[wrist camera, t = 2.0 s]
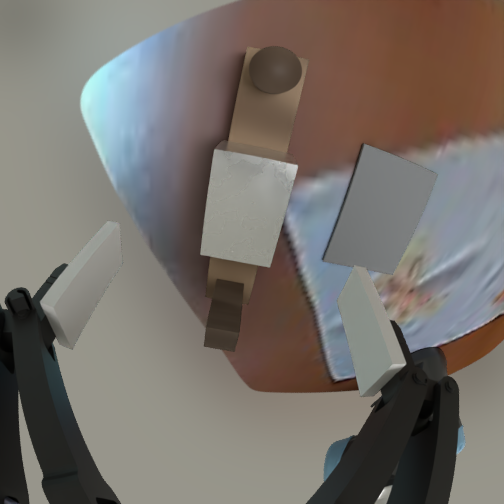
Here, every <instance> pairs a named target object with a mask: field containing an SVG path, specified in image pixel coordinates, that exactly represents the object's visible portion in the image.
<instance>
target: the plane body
mask: <svg viewBox="0 0 504 504" xmlns="http://www.w3.org/2000/svg"><path fill="white" fill-rule="evenodd" d="M308 62H309V60H308V59H304V58H300V57H297V56H296V55H295V54H294V53H293V52H291V51H290V50H288V49H286V48H283V47H278V46H271V47H266V48H263V49H258V48H252V47H247V52H246V56H245V60H244V65H243V69H242V74H241V79H240V84H239V88H238V93H237V98H236V103H235V108H234V113H233V118H232V124H231V129H230V134H229V140H228V141H230V142H236V143H242V144H247V145H252V146H257V147H262V148H267V149H272V150H277V151H281V152H285V153H287V150H288V146H289V142H290V138H291V133H292V129H293V125H294V121H295V117H296V113H297V109H298V105H299V100H300V96H301V92H302V88H303V84H304V79H305V75H306V71H307V67H308ZM257 269H258V265H253V264H248V263H243V262H237V261H232V260H226V259H221V258H216V257H210V263H209V271H208V279H207V287H206V296H205V297H208V298H212V302H211V307H210V311H209V316H208V321H207V325H206V333H205V342H204V346H205V347H210V348H215V349H221V350H227V351H233V352H235V348H236V344H237V340H238V336H239V332H240V322H241V311H242V304H247V305H248V303H249V299H250V296H251V292H252V288H253V284H254V280H255V276H256V273H257Z"/></svg>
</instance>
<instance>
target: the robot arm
mask: <svg viewBox="0 0 504 504" xmlns="http://www.w3.org/2000/svg"><path fill="white" fill-rule="evenodd" d="M120 236H121V235H120V223H119V222H113V221H107V222H106V223H105V224H104V225H103V227H102V228H101V229H100V230H99V231H98V232H97V233H96V234H95V235H94V236H93V237H92V238H91V239H90V241H89V242H88V243H87V244H86V245H85V246H84V248H83V249H82V250H81V251H80V252H79V253H78V254H77V255H76V257H75V258H74V259H73V260H72V261H71V263H70V264H69V265H68V264H62V265H61V266H59V267H58V268H56V269H55V270H54V271H53V273H52V274H51V275H50V277H48V279H47V280H46V282H45V283H44V284H43V285H42V286H41V288H40V289H39V290H38V291H37V293H36V294H35V295H34V297H33V298H31V296H30V293H29V291H28V290H27V289H26V288H22V287H21V288H16V289H14V290H12V291H11V292H9V293H8V295H7V296H6V298H5V304H6V306H7V308H8V310H7V309H2V307H1V305H0V504H29V495H28V489H27V484H26V479H25V473H24V467H23V461H22V454H21V446H20V435H19V414H18V390H19V394H20V399H21V404H22V408H23V412H24V416H25V420H26V424H27V428H28V431H29V435H30V438H31V441H32V444H33V448H34V450H35V453H36V456H37V459H38V461H39V464H40V467H41V469H42V472H43V477H44V478H43V480H42V488H43V490H44V493H45V495H46V497H47V500H48V501H49V503H50V504H121V503H120V501H119V500H118V498H117V496H116V495H115V493H114V492H113V490H112V489H111V488H110V487H109V485H108V484H107V483H106V482H105V481H104V479H103V478H102V476H101V474H100V472H99V471H98V468H97V466H96V464H95V462H94V460H93V458H92V456H91V454H90V452H89V450H88V448H87V445H86V444H85V441H84V439H83V436H82V434H81V431H80V429H79V427H78V424H77V421H76V419H75V416H74V413H73V411H72V408H71V405H70V402H69V399H68V396H67V393H66V390H65V386H64V383H63V379H62V376H61V372H60V368H59V365H58V360H57V356H56V352H55V347H54V345H53V341H54V339H55V337H56V338H57V340H58V342H59V344H60V345H62V346H64V347H67V348H69V349H72V350H73V348H74V346H75V344H76V342H77V340H78V338H79V336H80V334H81V333H82V331H83V329H84V327H85V325H86V323H87V321H88V320H89V318H90V316H91V314H92V313H93V311H94V309H95V307H96V306H97V304H98V302H99V301H100V299H101V297H102V296H103V294H104V293H105V291H106V289H107V288H108V286H109V284H110V283H111V281H112V280H113V278H114V276H115V275H116V273H117V272H118V270H119V269H120V267H121V265H122V264H123V259H122V247H121V237H120ZM337 304H338V307H339V311H340V314H341V318H342V322H343V325H344V329H345V333H346V337H347V341H348V345H349V349H350V353H351V357H352V361H353V365H354V370H355V374H356V378H357V383H358V388H359V392H360V396H361V397H365V396H374V395H375V394H377V393H378V391H380V390H381V393H382V396H381V397H380V398H379V399H378V400H377V401H375V402H374V403H373V404H372V405H371V407H373V406H374V405H375V407H374V408H373V410H372V412H371V414H370V416H369V417H368V419H367V420H366V422H365V424H364V425H363V427H362V429H361V431H360V432H359V434H358V435H356V436H354V435H353V436H350V437H349V438H346V439H342V440H339V441H336V442H334V443H333V444H332V445H331V446H330V447H329V449H328V451H327V454H326V458H325V463H324V483H323V484H322V485H321V486H320V488H319V489H318V490H317V492H316V493H315V494H314V495H313V496H312V497H311V498H310V500H309V501H308V502H307V503H306V504H448V501H449V497H450V492H451V487H452V482H453V476H454V470H455V462H456V455H457V454H458V453H459V452H461V450H462V449H463V448H464V446H465V436H464V432H463V425H462V424H461V421H460V418H459V388H458V385H457V383H456V381H455V380H454V379H453V378H452V377H449V376H447V367H446V366H447V360H446V357H445V355H444V353H443V351H442V350H441V349H439V348H427V349H423V350H420V351H417V352H414V353H412V354H411V353H410V351H409V348H408V346H407V344H406V341H405V338H403V337H404V336H403V333H402V331H401V329H400V327H399V326H398V325H397V323H396V322H395V321H392V320H389V318H388V315H387V313H386V311H385V308H384V306H383V304H382V301H381V299H380V297H379V295H378V292H377V290H376V288H375V286H374V284H373V282H372V279H371V277H370V275H369V273H368V271H367V269H366V267H360V266H355V265H354V267H353V270H352V272H351V274H350V276H349V278H348V280H347V282H346V284H345V286H344V288H343V290H342V292H341V294H340V296H339V298H338V300H337Z"/></svg>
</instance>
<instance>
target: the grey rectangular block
mask: <svg viewBox="0 0 504 504" xmlns="http://www.w3.org/2000/svg"><path fill="white" fill-rule="evenodd" d="M297 168H298V164H297V162H296V160H295V158H294V156H293V154H290V153H285V152H281V151H277V150H272V149H267V148H262V147H257V146H252V145H247V144H242V143H236V142H230V141H224V140H222V141H221V142H220V143H219V144H218V146H217V147H216V148H215V149H214V154H213V161H212V167H211V174H210V181H209V188H208V195H207V202H206V210H205V218H204V226H203V235H202V243H201V253H200V255H205V256H210V257H216V258H221V259H226V260H232V261H237V262H243V263H248V264H253V265H259V266H264V267H270V266H271V262H272V259H273V255H274V252H275V248H276V245H277V241H278V238H279V234H280V231H281V227H282V223H283V220H284V216H285V213H286V209H287V205H288V202H289V198H290V194H291V191H292V187H293V183H294V180H295V176H296V172H297Z"/></svg>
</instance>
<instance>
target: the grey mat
mask: <svg viewBox="0 0 504 504" xmlns="http://www.w3.org/2000/svg"><path fill="white" fill-rule="evenodd" d="M437 176H438V174H436V173H434V172H432V171H430V170H428V169H426V168H423V167H421V166H419V165H417V164H415V163H412V162H410V161H408V160H405V159H403V158H400V157H398V156H396V155H393V154H390V153H388V152H385V151H383V150H380V149H377V148H375V147H372V146H369V145H366V144H364V143H363V145H362V148H361V152H360V155H359V158H358V161H357V165H356V168H355V171H354V174H353V177H352V180H351V183H350V186H349V189H348V192H347V195H346V198H345V201H344V204H343V206H342V209H341V212H340V215H339V218H338V220H337V223H336V226H335V228H334V231H333V234H332V236H331V239H330V242H329V244H328V247H327V250H326V252H325V255H324V257H323V262H328V263H333V264H339V265H344V266H349V267H354V265H355V266H360V267H366V269H367V270H370V271H375V272H380V273H386V274H391V275H393V273H394V271H395V269H396V268H397V266H398V264H399V262H400V260H401V258H402V256H403V254H404V252H405V250H406V248H407V246H408V244H409V242H410V240H411V238H412V236H413V234H414V231H415V229H416V227H417V225H418V223H419V221H420V218H421V216H422V214H423V211H424V209H425V207H426V204H427V202H428V199H429V197H430V194H431V192H432V189H433V187H434V184H435V181H436V179H437Z"/></svg>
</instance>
